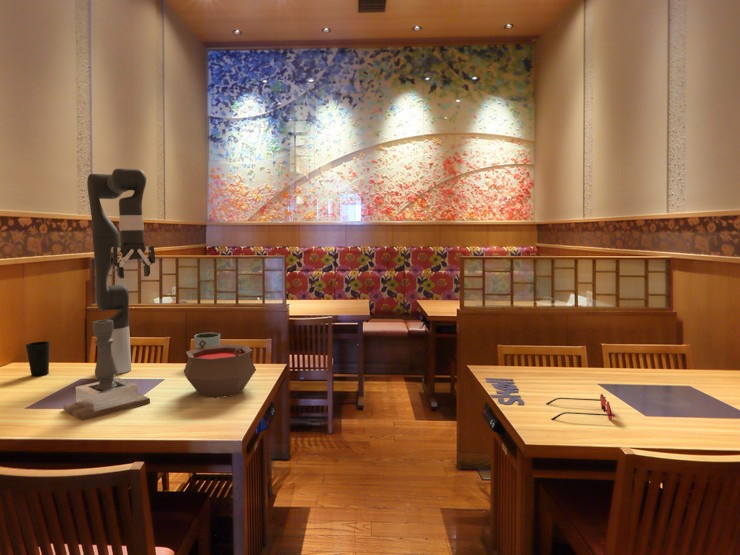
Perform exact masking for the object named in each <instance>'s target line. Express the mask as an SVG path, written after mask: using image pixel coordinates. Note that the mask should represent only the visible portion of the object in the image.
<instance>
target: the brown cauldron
mask: <svg viewBox="0 0 740 555" xmlns="http://www.w3.org/2000/svg"><path fill="white" fill-rule="evenodd" d="M202 342H203V343H204V344H203V345H202V344H201V343H202ZM205 344H206V342H205V341H204V340H203V339H202V340H201V342H200V343H199V345H200V346H201V347H200V348H197V349H196V348H194V349H191V350H187V351H185V353H186V355H187V356H188V359H187V361H186V364H185V366H184V369H183V373H184V376H185V378H186V380H187V381H188V382H189V384H191V386H192V387H193V388H194V389H195V391H196V392H197V394H199V396H200V397H202V396H204V398H211V397H213V399H218V398H217V397H219V398H225V397H224V396H227V397H232V396H231V395H233V396H235V395H237V394H239V393H241V392H243V391H244V389H245V387H246V386H247V384H248V383H249V381H250V380H251V379H252V377H253V375H254V374H255V372H256V371H257V369H256V366H255V364H254V362H253V359H251V356H250V355H251V353H252V351H253V349H252V348H250V347H249V346H248V345H243V344H242V345H240V344H229V343H228V344H227V343H225V344H220V345H214V346H205ZM242 390H243V391H242ZM240 391H241V392H240Z"/></svg>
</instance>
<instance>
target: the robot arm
mask: <svg viewBox="0 0 740 555" xmlns="http://www.w3.org/2000/svg"><path fill="white" fill-rule="evenodd" d="M87 176H88V177H87V179H86V180H87V181H86V182H87V184H86V185H87V194H88V201H89V208H90V215H91V216H90V217H91V231H92V232H91V233H92V248H93V254H94V255H93V257H94V266H95V267H94V268H95V301H96V306H97V309H99V311H102V312H103V311H113V310H117V311H116V312H115V313H114V314H113V315H111V316H110V317H108V318H105V319H104V320H113V327H114V331H113V334H112V336H111V339H113V343H112V345H111V350H112V356H113V360H114V363H115V366H116V369H117V373H116V375H119V374H124V373H128V372H130V371H132V358H131V357H132V355H131V354H132V353H131V337H130V309H129V307H130V296H129V295H130V294H129V290H128V286H126V285H124V284H117V285H116V284H115V285H107V283H108V276H109V273H110V271H111V269H112V267H113V266H114V267H116V272H117V275H116V276H117V277H118V279H122V280H123V279H124V278H125V272H124V271H125V268H124V265H125V264H126V262H127V261H128V260H132V261H133V260H139V261H140V262H142V263H143V276H144V277H149V276H150V275H151V265H152V264H155V263H156V254H155V247H154V246H153V245H148V246H145V226H144V225H145V224H144V217H143V198H144V193H145V188H146V185H147V176H146V174H145V172H144V171H143V170H141V169H138V168H137V169H136V168H135V169H134V168H121V167H120V168H115V169H113V171H112V173H111V174H110V173H109V174H105V173H104V174H103V173H90V174H89V175H87ZM129 191H133V194H132V195H131V196H126V197H122V198H120V196H122V194H123V193H125V192H129ZM118 198H120V199H119V200H118V212H119V213H118V214H119V219H118V220H119V221H118V228H119V230H118V229H117V227H116V226H115V225H114V223H113V222H112V221H111V220H110V219H109V217H108V216H107V214H106V213H105V211H104V208H103V206H102V204H101V200H103V199H104V200H113V199H114V200H115V199H118ZM145 252H147V256H146V255H145ZM120 253H121V256H120V257H119V255H120ZM118 257H119V259H118Z"/></svg>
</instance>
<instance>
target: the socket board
mask: <svg viewBox="0 0 740 555" xmlns="http://www.w3.org/2000/svg"><path fill="white" fill-rule="evenodd" d="M150 403H151V398H150V397H147V396H145V395H142V394H141V393H138V401H135V402H131V403H127V404H123V405H119V406H115V407H111V408H108V409H104V410H100V411H96V412H93V411H91V410H90V409H88V408H86V407H84V406H82V405H80V404H78V403H76V402H73V403H69V404H64V405H62V406H63V411H64V410H65V411H64V412H66V413H67V414H69V415H71V414H72V415H71V416H73V415H74V416H73V417H75V418H77V419H79V420H80V419H81V420H80V421H86V420H90V419H94V418H97V417H101V416H105V415H108V414H113V413H114V414H115V413H116V412H121V411H125V410H129V409H132V408H136V407H139V406H143V405H147V404H150Z"/></svg>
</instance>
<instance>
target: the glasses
mask: <svg viewBox="0 0 740 555" xmlns="http://www.w3.org/2000/svg"><path fill="white" fill-rule="evenodd" d="M606 398H607V397H606V396H604V394H603V393H601V394H600V397H599V399H597V398H579V397H578V398H575V397H574V398H573V397H572V398H570V397H557V398H554V399H552V400H549V401H548V402H546V403H545V405H550V404H551V403H553V402H555V401H557V400H576V401H577V400H578V401H592V402H593V401H595V402H596V401H597V402H600V407H601V410H602V411H603V412H604V413H592V412H591V413H589V412H572V411H571V412H570V411H567V412H562V413H561V412H560V413H559V414H557V415H556V416H554V417H552V418H550V420H551V421H554V420H556V419H557V418H559V417H561V416H563V415H565V414H571V415H572V414H573V415H585V416H586V415H588V416H606V417H607V419H608V421H611V420H612V419H613V418H614V417H616V414H615V413H613V411H612V409H611V404H610V401H607V399H606ZM606 412H607V413H606Z"/></svg>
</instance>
